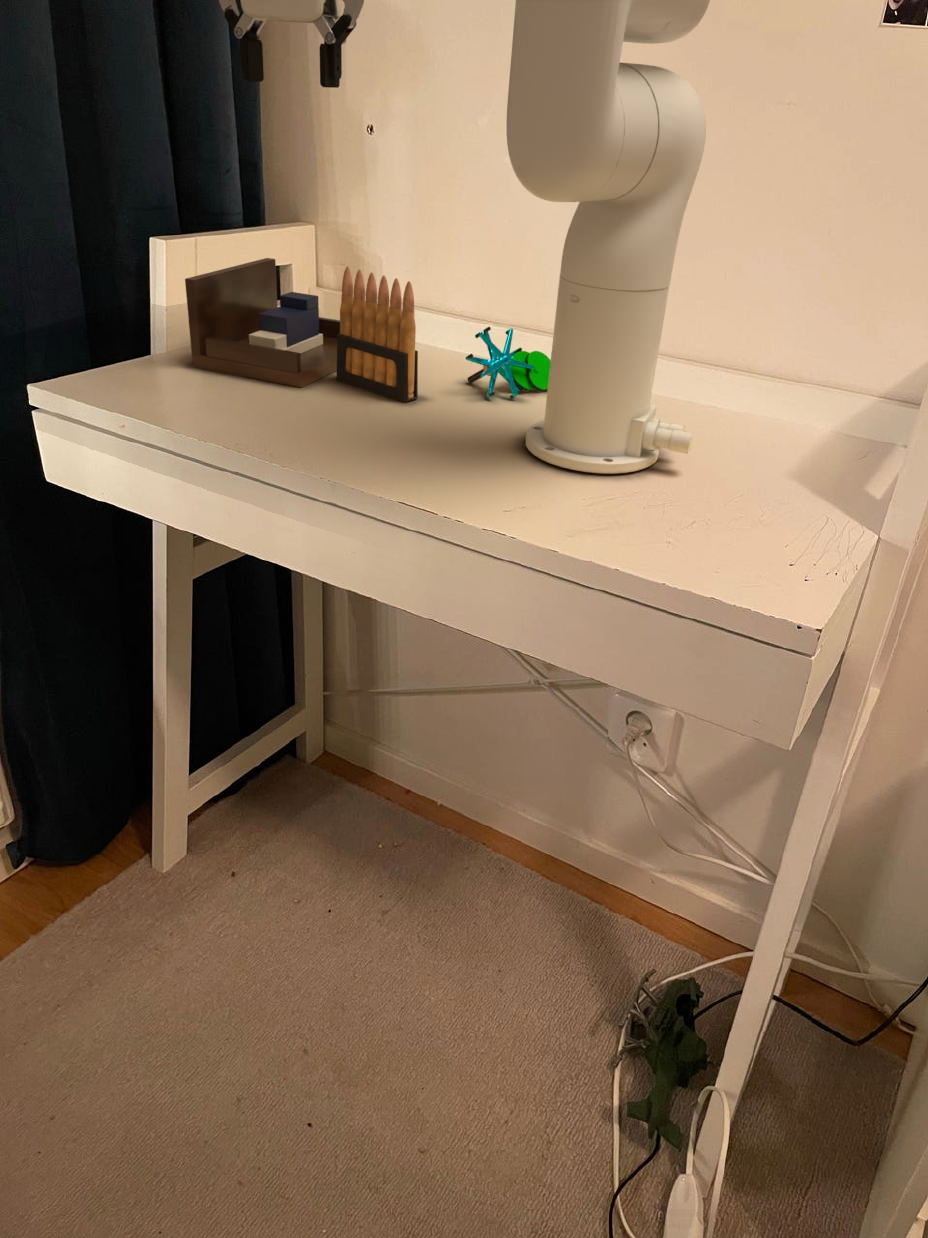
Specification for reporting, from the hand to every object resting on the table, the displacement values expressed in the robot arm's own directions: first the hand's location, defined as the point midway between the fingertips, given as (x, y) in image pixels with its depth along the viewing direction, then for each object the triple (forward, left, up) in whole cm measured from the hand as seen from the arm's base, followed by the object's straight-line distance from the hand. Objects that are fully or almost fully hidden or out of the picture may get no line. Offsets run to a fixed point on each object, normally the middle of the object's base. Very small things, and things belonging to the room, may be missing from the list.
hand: (291, 83), depth 103 cm
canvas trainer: (-4, +10, -26) cm, 29 cm away
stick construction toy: (-29, +5, -28) cm, 41 cm away
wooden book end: (-3, +9, -28) cm, 30 cm away
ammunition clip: (-17, +13, -28) cm, 36 cm away
